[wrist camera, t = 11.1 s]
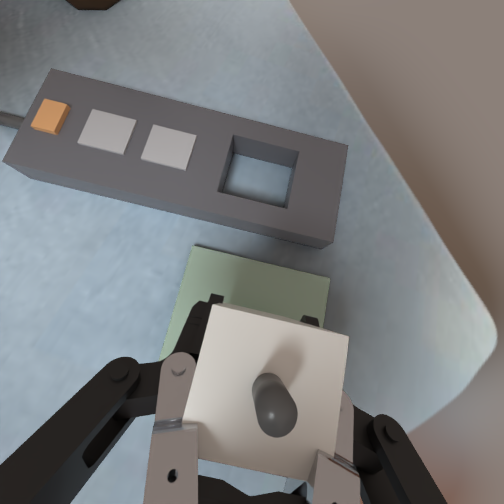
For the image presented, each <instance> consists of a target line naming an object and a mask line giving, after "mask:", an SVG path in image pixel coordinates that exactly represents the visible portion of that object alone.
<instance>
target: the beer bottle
mask: <svg viewBox="0 0 504 504" xmlns="http://www.w3.org/2000/svg"><path fill="white" fill-rule="evenodd" d="M66 1H67V2H69V3H70V4H71V5H73V6H74V7H75V8H77V9H78V10H107V9H108V8H110V7H111V6H113V5H114V4H115V3H117V2H118V1H120V0H66Z"/></svg>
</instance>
